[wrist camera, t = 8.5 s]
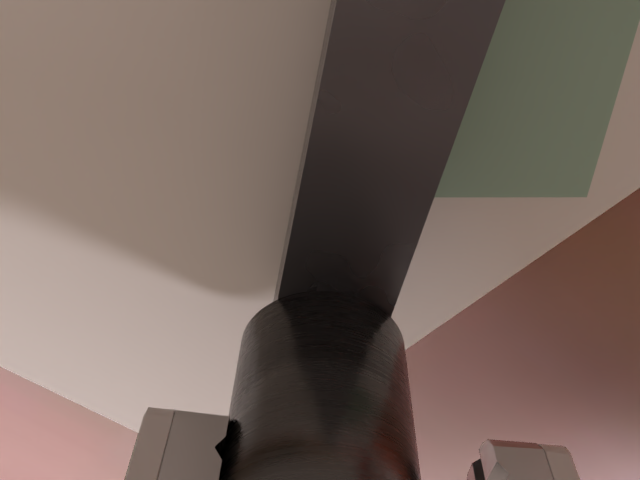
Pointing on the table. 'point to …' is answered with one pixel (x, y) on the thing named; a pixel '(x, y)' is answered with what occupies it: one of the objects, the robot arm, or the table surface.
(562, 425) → the table surface
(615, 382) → the table surface
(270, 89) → the lever board
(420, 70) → the lever
